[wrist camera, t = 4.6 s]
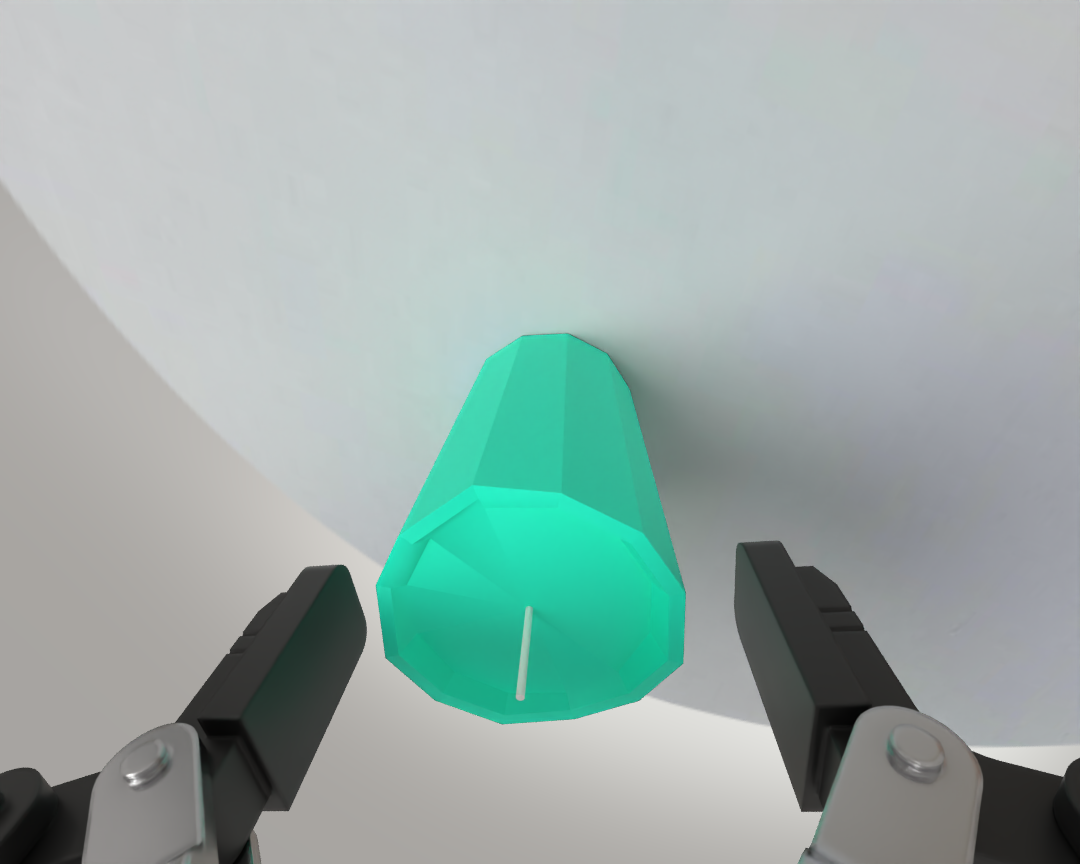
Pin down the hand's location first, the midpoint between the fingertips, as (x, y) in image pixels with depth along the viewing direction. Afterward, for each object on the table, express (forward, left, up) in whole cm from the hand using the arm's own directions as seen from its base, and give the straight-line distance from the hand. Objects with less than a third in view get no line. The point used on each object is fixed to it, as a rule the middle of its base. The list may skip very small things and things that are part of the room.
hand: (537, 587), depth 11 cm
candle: (0, 0, -10) cm, 10 cm away
